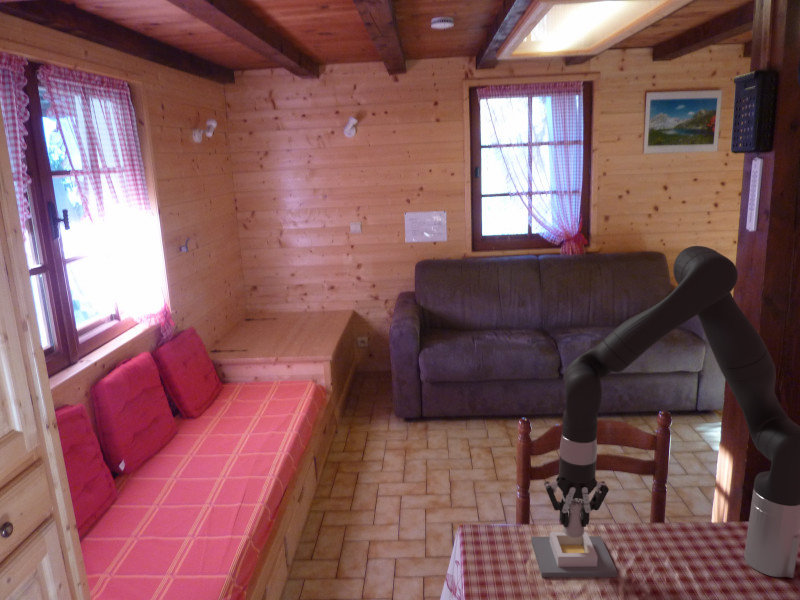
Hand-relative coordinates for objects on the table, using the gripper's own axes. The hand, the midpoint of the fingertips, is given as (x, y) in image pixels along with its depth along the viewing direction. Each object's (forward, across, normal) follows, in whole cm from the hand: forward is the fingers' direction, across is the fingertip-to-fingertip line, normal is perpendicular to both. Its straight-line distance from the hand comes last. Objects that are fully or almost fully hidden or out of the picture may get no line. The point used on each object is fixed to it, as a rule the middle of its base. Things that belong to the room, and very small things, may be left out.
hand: (574, 524), depth 131 cm
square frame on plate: (+9, 0, 0) cm, 9 cm away
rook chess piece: (+2, 0, 0) cm, 2 cm away
